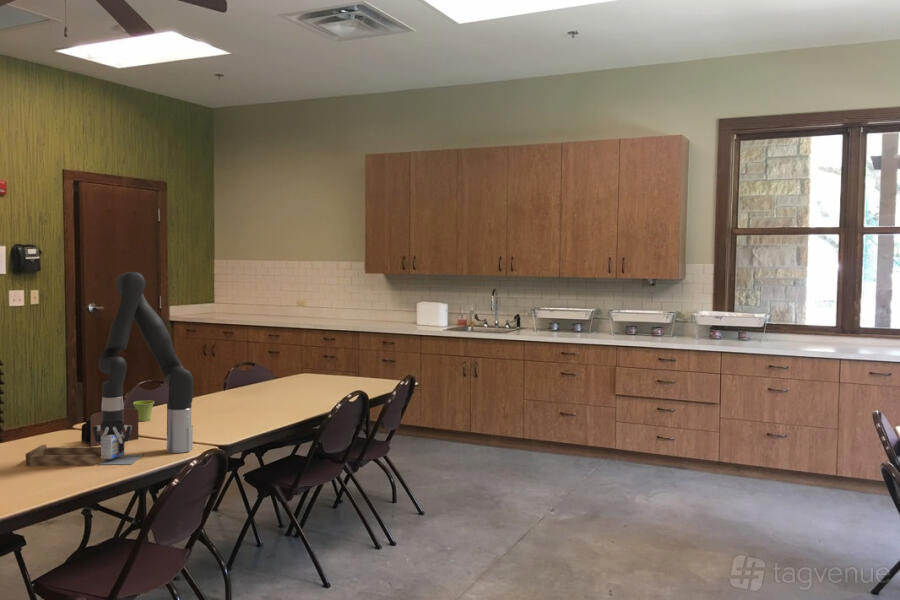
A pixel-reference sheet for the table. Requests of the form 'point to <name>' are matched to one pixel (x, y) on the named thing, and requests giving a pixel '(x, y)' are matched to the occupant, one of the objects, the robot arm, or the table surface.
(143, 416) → the plant pot
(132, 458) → the slate mat
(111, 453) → the medicine box
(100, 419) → the letter holder
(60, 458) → the frame
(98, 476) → the table surface
